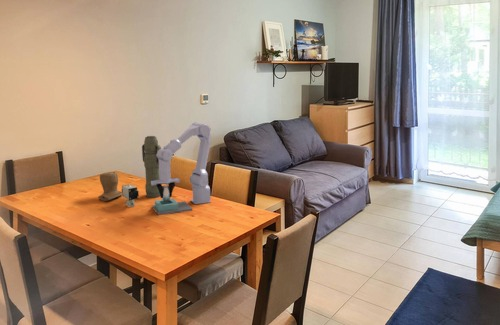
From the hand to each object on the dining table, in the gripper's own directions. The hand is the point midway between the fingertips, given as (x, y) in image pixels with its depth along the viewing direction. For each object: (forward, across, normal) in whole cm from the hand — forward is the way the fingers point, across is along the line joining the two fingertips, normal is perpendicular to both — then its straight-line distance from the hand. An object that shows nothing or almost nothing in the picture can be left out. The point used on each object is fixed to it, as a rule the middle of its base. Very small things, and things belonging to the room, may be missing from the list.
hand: (165, 197), depth 223 cm
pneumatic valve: (+7, -16, +14) cm, 22 cm away
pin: (+2, 0, 0) cm, 2 cm away
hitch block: (+7, +3, 0) cm, 8 cm away
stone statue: (+7, -1, +28) cm, 29 cm away
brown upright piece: (+7, -25, +34) cm, 43 cm away
